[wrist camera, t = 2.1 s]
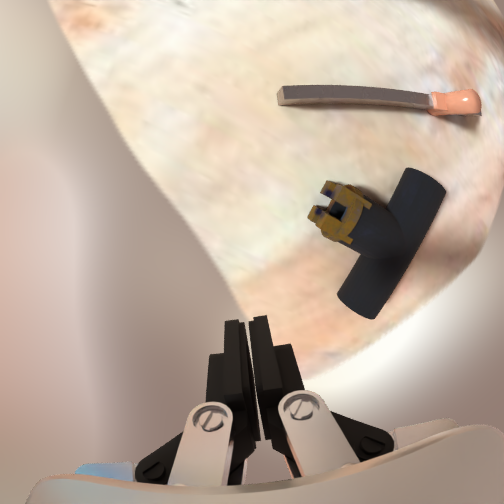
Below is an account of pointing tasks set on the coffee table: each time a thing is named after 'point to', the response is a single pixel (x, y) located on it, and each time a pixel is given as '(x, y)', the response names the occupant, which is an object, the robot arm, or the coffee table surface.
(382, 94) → the guide rail
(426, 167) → the coffee table surface
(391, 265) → the pipe connector
